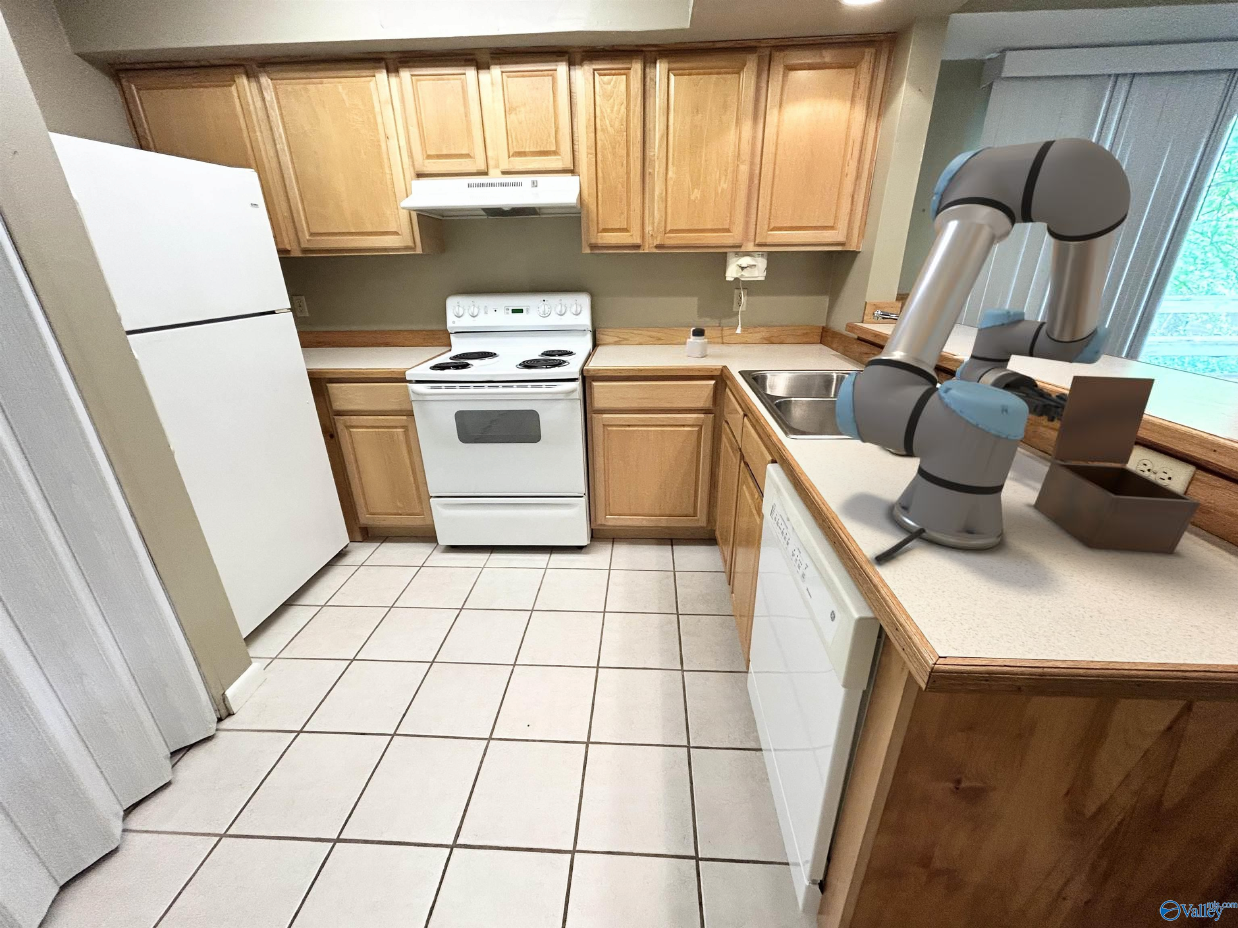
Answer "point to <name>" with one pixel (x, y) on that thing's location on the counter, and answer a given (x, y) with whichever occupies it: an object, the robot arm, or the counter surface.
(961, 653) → the counter surface
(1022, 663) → the counter surface
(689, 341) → the medicine bottle
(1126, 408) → the lid
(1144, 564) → the counter surface
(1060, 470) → the chest
